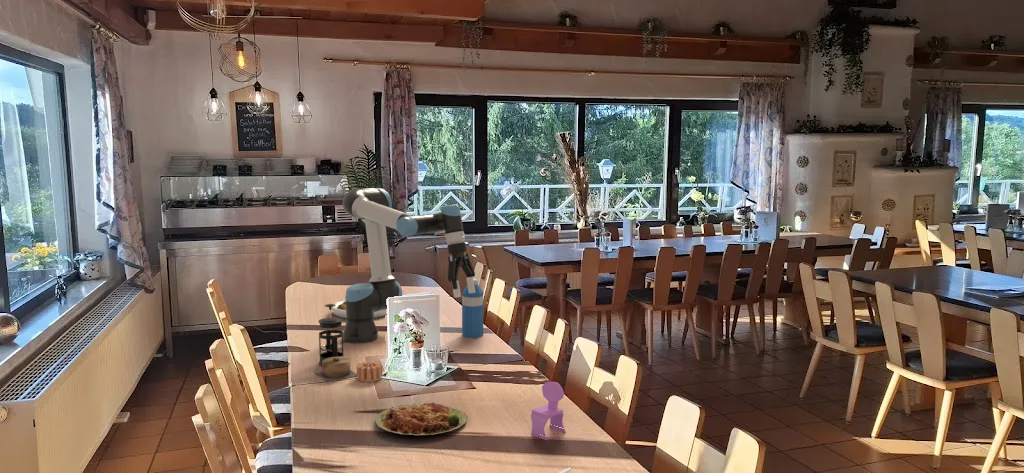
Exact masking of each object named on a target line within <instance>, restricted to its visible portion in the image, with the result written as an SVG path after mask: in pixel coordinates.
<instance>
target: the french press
mask: <svg viewBox="0 0 1024 473" xmlns="http://www.w3.org/2000/svg"><path fill="white" fill-rule="evenodd" d="M334 306H336V305H335V304H334V303H328V304H327V303H326V304H325V305H324V307H326V308H328V309H329V317H325V318H321V319H318V323H319V327H320V328H322V329H326V330H322V331H319V332H318V350H319V354H318V355H319V362H318V364H319V365H320V366H321V367H322V361H323V360H324V359H326V358H330V357H345V356H344V340H343V331H344V330H343V331H342V330H340V329H335V328H340V327H341V326H342V324H343V319H344V318H341V317H332V307H334ZM333 334H334V335H333ZM340 338H341V344H340V343H338V339H340ZM321 339H323V340H325V342H326V343H325V344H323V345H321V342H322V341H321ZM321 351H322V352H321Z"/></svg>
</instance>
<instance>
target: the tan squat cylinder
mask: <svg viewBox="0 0 1024 473" xmlns="http://www.w3.org/2000/svg"><path fill="white" fill-rule="evenodd" d="M321 371H322V375H323V376H324V377H326V378H342V377H346V376H348V375H350V373H351V371H352V370H351V358H349V357H346V356H344V357H330V358H326V359H324V360H323V361H322V366H321Z"/></svg>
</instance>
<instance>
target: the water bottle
mask: <svg viewBox="0 0 1024 473" xmlns="http://www.w3.org/2000/svg"><path fill="white" fill-rule="evenodd" d="M473 281H474V287H475V293H469V292H468V286H467V285H466V286H465V287H464V289H463V290H462V291H461V333H462V334H461V335H462V336H463V337H464V338H471V339H476V338H481V337H483V336H484V291H483V290H482V289H481V286H479V284H478V278H473Z"/></svg>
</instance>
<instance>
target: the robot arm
mask: <svg viewBox="0 0 1024 473" xmlns="http://www.w3.org/2000/svg"><path fill="white" fill-rule="evenodd" d="M392 203H393V202H392V198H391V195H390V194H389V193H388V191H386V190H385V189H384V188H380V187H370V188H369V187H368V188H355V189H352V190H349V191H348V192H346V194H345V195H344V197H343V199H342V208H343V210H344V211H345V213H346V214H348V215H349V216H351V217H353V218H356V219H361V220H360V221H362V222H363V223H364V225H365V233H366V239H367V246H368V247H367V248H368V256H369V265H370V273H371V277H370V279H369V280H368V282H361V283H354V284H351V285H350V286H348V287H347V288H346V290H345V299H344V300H346V318H345V319H346V321H345V325H344V328H343V342H347V343H353V344H362V343H363V344H364V343H369V342H373V341H377V340H378V339H379V332H378V329H377V325H376V323H375V318H374V312H376V311H380V310H384V309H387V305H386V299H387V298H388V297H394V296H402V297H403V288H402V286H401V285H400V282H398V281H396V277H395V276H393V274H392V272H391V263H390V262H391V261H390V254H389V244H388V238H387V237H388V235H387V230H386V229H387V228H386V227H388V228H391V229H394V230H396V232H397V233H399V235H400V236H404V237H406V236H407V237H412V236H417V235H426V234H435V233H439V232H443V231H444V235H445V240H446V244H447V253H448V255H449V256H448V257H447V258H448V267H447V268H448V270H447V280H448V282H451V286H452V291H453V292H452V293H453V298H462V292H461V287H460V283H459V280H458V276H459V272H460V271H459V270H460V268H461V269H462V271H463V273H464V274H465V275H466V286H468V292H469V293H475V287H474V281H473V279H474V277H476V272H475V270H474V267H473V264H472V262H471V260H470V257H469V254H468V252H466V251H468V249H467V244H466V242H465V241H466V238H465V235H466V234H465V232H464V227H463V221H462V213H461V212H462V211H461V210H460V205H458V204H449V205H443V206H441V208H440V212H436V213H432V214H431V213H430V214H422V215H412V214H409V213H406V212H403V211H400V210H397V209H394V208H392V205H393V204H392ZM465 252H466V253H465Z"/></svg>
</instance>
